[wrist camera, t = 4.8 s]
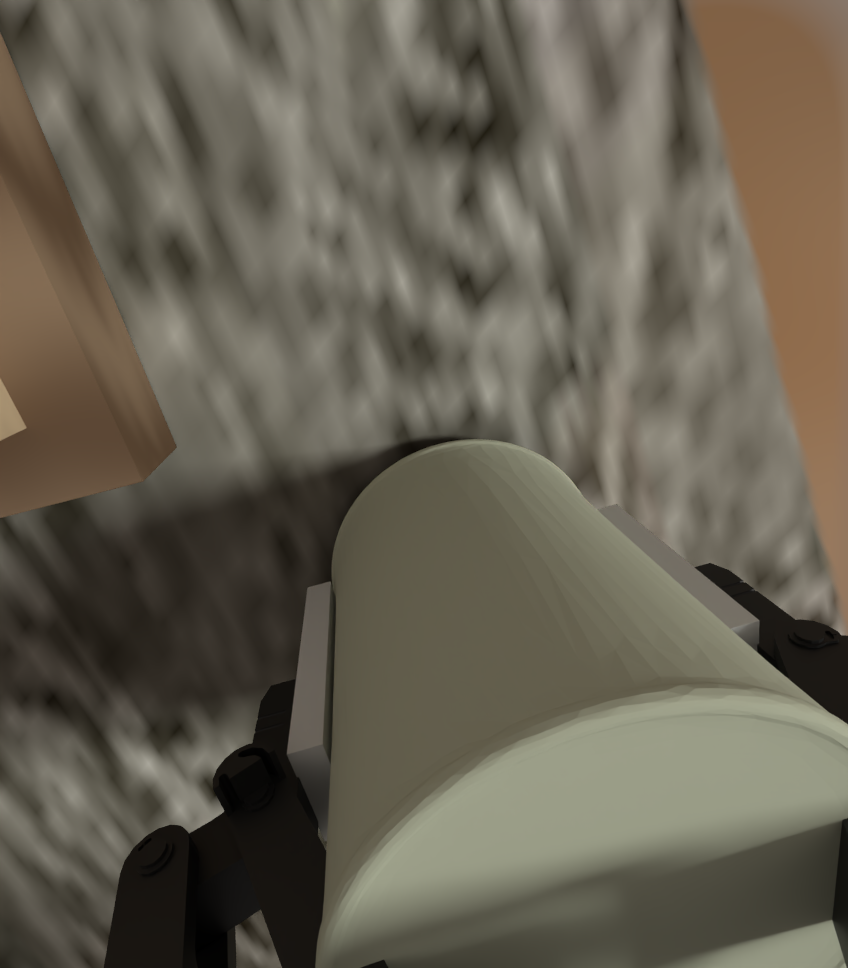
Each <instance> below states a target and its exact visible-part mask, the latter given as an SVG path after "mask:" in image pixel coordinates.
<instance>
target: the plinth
mask: <svg viewBox="0 0 848 968" xmlns="http://www.w3.org/2000/svg"><path fill="white" fill-rule="evenodd" d="M175 448H176V444H175V442H174V439H173V437H172V435H171V432H170V430H169V428H168V425H167V423H166V421H165V418H164V416H163V414H162V411H161V409H160V407H159V404H158V402H157V400H156V397H155V395H154V392H153V390H152V388H151V385H150V383H149V381H148V378H147V376H146V374H145V371H144V369H143V367H142V364H141V362H140V360H139V357H138V355H137V353H136V350H135V348H134V345H133V343H132V341H131V338H130V336H129V334H128V331H127V329H126V327H125V324H124V322H123V320H122V317H121V315H120V313H119V310H118V308H117V306H116V303H115V301H114V298H113V296H112V294H111V291H110V289H109V287H108V284H107V282H106V280H105V277H104V275H103V273H102V270H101V268H100V266H99V263H98V261H97V259H96V256H95V254H94V251H93V249H92V247H91V244H90V242H89V240H88V237H87V235H86V233H85V230H84V228H83V226H82V223H81V221H80V219H79V216H78V214H77V212H76V209H75V207H74V204H73V202H72V200H71V197H70V195H69V193H68V190H67V188H66V186H65V183H64V181H63V179H62V176H61V174H60V172H59V169H58V167H57V165H56V162H55V160H54V157H53V155H52V153H51V150H50V148H49V146H48V143H47V141H46V139H45V136H44V134H43V132H42V129H41V127H40V125H39V122H38V120H37V118H36V115H35V113H34V110H33V108H32V106H31V103H30V101H29V99H28V96H27V94H26V92H25V89H24V87H23V85H22V82H21V80H20V78H19V75H18V73H17V71H16V68H15V66H14V63H13V61H12V59H11V56H10V54H9V52H8V49H7V47H6V45H5V42H4V40H3V38H2V35H1V33H0V518H2V517H6V516H10V515H14V514H18V513H21V512H25V511H29V510H33V509H37V508H41V507H45V506H49V505H53V504H57V503H61V502H65V501H68V500H72V499H76V498H80V497H84V496H88V495H92V494H96V493H100V492H104V491H108V490H112V489H116V488H119V487H123V486H127V485H131V484H135V483H139V482H143V481H144V480H145V479H146V478H147V477H148V476H149V475H150V474H151V473H152V472H153V471H154V470H155V469H156V468H157V467H158V466H159V465H160V464H161V463H162V462H163V461H164V460H165V459H166V458H167V457H168V456H169V455H170V454H171V453H172V452H173V451H174V450H175Z"/></svg>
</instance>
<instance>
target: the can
mask: <svg viewBox="0 0 848 968" xmlns="http://www.w3.org/2000/svg"><path fill="white" fill-rule="evenodd" d="M332 585H333V590H334V593H335V596H336V626H335V659H334V691H333V724H332V749H331V769H330V789H329V810H328V830H327V850H326V871H325V891H324V904H323V917H322V923H321V926H320V930H319V935H318V941H317V951H316V963H315V968H361V967H364V966H366V965H369V964H372V963H375V962H378V961H381V960H385V962H386V964H387V966H388V968H846V964H845V960H844V957H843V954H842V951H841V947H840V944H839V941H838V937H837V934H836V931H835V928H834V924H833V921H832V917H833V907H834V897H835V886H836V876H837V866H838V857H839V847H840V837H841V828H842V820H843V819H847V818H848V724H847V723H845V722H844V721H842V720H841V719H839V718H838V717H836V716H834V715H832V714H831V713H829V712H828V711H827V710H825V709H824V708H823V707H822V706H821V705H819V704H818V703H817V702H816V701H814V700H813V699H812V698H811V697H810V696H808V695H807V694H806V693H805V692H804V691H802V690H801V689H800V688H799V687H798V686H796V685H795V684H794V683H793V682H792V681H790V680H789V679H788V678H787V677H785V676H784V675H783V674H782V673H781V672H779V671H778V670H777V669H776V668H775V667H773V666H772V665H771V664H770V663H769V662H768V661H766V660H765V659H764V658H763V657H762V656H761V655H760V654H758V653H757V652H756V651H755V650H754V649H753V648H752V647H751V646H749V645H748V644H747V643H746V642H745V641H744V640H743V639H741V638H740V637H739V636H738V635H737V634H736V633H735V632H733V631H732V630H731V629H730V628H729V627H728V626H727V625H725V624H724V623H723V622H722V621H721V620H720V619H719V618H717V617H716V616H715V615H714V614H713V613H712V612H711V611H709V610H708V609H707V608H706V607H705V606H704V605H703V604H701V603H700V602H699V601H698V600H697V599H696V598H695V597H693V596H692V595H691V594H690V593H689V592H688V591H687V590H685V589H684V588H683V587H682V586H681V585H680V584H679V583H678V582H677V581H675V580H674V579H673V578H672V577H671V576H670V575H669V574H668V573H666V572H665V571H664V570H663V569H662V568H661V567H660V566H659V565H658V564H656V563H655V562H654V561H653V560H652V559H651V558H650V557H649V556H648V555H646V554H645V553H644V552H643V551H642V550H641V549H640V548H639V547H637V546H636V545H635V544H634V543H633V542H632V541H631V540H630V539H629V538H627V537H626V536H625V535H624V534H623V533H622V532H621V531H620V530H618V529H617V528H616V527H615V526H614V525H613V524H612V523H611V522H610V521H609V520H608V519H607V518H605V517H604V516H603V515H602V514H601V513H600V512H599V511H598V510H597V509H596V508H595V507H593V506H592V505H591V504H590V503H589V502H588V501H587V500H586V499H585V498H584V497H583V496H582V494H581V493H580V491H579V490H578V488H577V487H576V486H575V484H574V483H573V482H572V481H571V479H570V478H569V477H568V476H567V475H566V474H565V473H564V472H563V471H562V470H561V469H560V468H558V467H557V466H556V465H555V464H553V463H552V462H551V461H549V460H548V459H546V458H544V457H543V456H541V455H539V454H537V453H535V452H533V451H531V450H529V449H526V448H524V447H521V446H518V445H514V444H511V443H507V442H501V441H496V440H485V439H467V440H457V441H450V442H445V443H441V444H437V445H433V446H430V447H427V448H424V449H422V450H419V451H417V452H415V453H413V454H411V455H408V456H406V457H405V458H403V459H401V460H399V461H397V462H396V463H395V464H393V465H392V466H390V467H389V468H387V469H386V470H384V471H383V472H382V473H381V474H380V475H378V476H377V477H376V478H375V479H374V480H373V481H372V482H371V483H370V484H369V485H368V486H367V487H366V488H365V489H364V490H363V491H362V492H361V494H360V495H359V496H358V498H357V499H356V500H355V502H354V503H353V505H352V506H351V507H350V509H349V511H348V513H347V514H346V516H345V518H344V520H343V522H342V525H341V527H340V529H339V532H338V535H337V538H336V542H335V546H334V551H333V557H332Z"/></svg>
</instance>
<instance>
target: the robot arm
mask: <svg viewBox="0 0 848 968" xmlns="http://www.w3.org/2000/svg"><path fill="white" fill-rule="evenodd" d="M597 510H598V511H599V512H600V513H601V514H602V515H603V516H604V517H605V518H607V519H608V520H609V521H610V522H611V523H612V524H613V525H614V526H615V527H616V528H617V529H618V530H620V531H621V532H622V533H623V534H624V535H625V536H626V537H627V538H629V539H630V540H631V541H632V542H633V543H634V544H635V545H636V546H637V547H639V548H640V549H641V550H642V551H643V552H644V553H645V554H646V555H648V556H649V557H650V558H651V559H652V560H653V561H654V562H655V563H656V564H658V565H659V566H660V567H661V568H662V569H663V570H664V571H665V572H666V573H668V574H669V575H670V576H671V577H672V578H673V579H674V580H675V581H677V582H678V583H679V584H680V585H681V586H682V587H683V588H684V589H685V590H687V591H688V592H689V593H690V594H691V595H692V596H693V597H695V598H696V599H697V600H698V601H699V602H700V603H701V604H703V605H704V606H705V607H706V608H707V609H708V610H709V611H711V612H712V613H713V614H714V615H715V616H716V617H717V618H719V619H720V620H721V621H722V622H723V623H724V624H725V625H727V626H728V627H729V628H730V629H731V630H732V631H733V632H735V633H736V634H737V635H738V636H739V637H740V638H741V639H743V640H744V641H745V642H746V643H747V644H748V645H749V646H751V647H752V648H753V649H754V650H755V651H756V652H757V653H758V654H760V655H761V656H762V657H763V658H764V659H765V660H766V661H768V662H769V663H770V664H771V665H772V666H773V667H775V668H776V669H777V670H778V671H779V672H781V673H782V674H783V675H784V676H785V677H787V678H788V679H789V680H790V681H792V682H793V683H794V684H795V685H796V686H798V687H799V688H800V689H801V690H802V691H804V692H805V693H806V694H807V695H808V696H810V697H811V698H812V699H813V700H814V701H816V702H817V703H818V704H819V705H821V706H822V707H823V708H824V709H825V710H827V711H828V712H829V713H831V714H832V715H834V716H836V717H838V718H839V719H841V720H842V721H844V722H845V723H847V724H848V636H841V635H840V633H839V632H838V631H836V630H834V629H832V628H831V627H829V626H827V625H824V624H821V623H818V622H815V621H809V620H795V619H794V618H792V617H791V616H790V615H788V614H787V613H786V612H784V611H783V610H782V609H780V608H779V607H778V606H776V605H775V604H774V603H772V602H771V601H770V600H768V599H767V598H766V597H764V596H763V595H762V594H760V593H759V592H758V591H756V592H755V590H754V588H752V587H751V586H750V585H748V584H747V583H744V582H743V580H741V579H740V578H739V577H737V576H736V575H735V574H733V573H732V572H731V571H729V570H727V569H724V568H722V567H719V566H717V565H714V564H711V563H709V564H705V565H701V566H698V567H693V566H692V565H691V564H689V563H688V562H687V561H686V560H685V559H683V558H682V557H681V556H680V555H678V554H677V553H676V552H675V551H674V550H672V549H671V548H670V547H669V546H667V545H666V544H665V543H664V542H662V541H661V540H660V539H659V538H658V537H656V536H655V535H654V534H653V533H651V532H650V531H649V530H648V529H647V528H645V527H644V526H643V525H642V524H640V523H639V522H638V521H637V520H635V519H634V518H633V517H632V516H631V515H629V514H628V513H627V512H626V511H624V510H623V509H622V508H621V507H620V506H618V505H617V504H616V505H612V506H608V507H605V508H601V509H597ZM335 626H336V596H335V593H334V590H333V587H332V584H331V581H330V582H326V583H322V584H319V585H315V586H311V587H308V588H307V596H306V604H305V612H304V620H303V628H302V636H301V644H300V652H299V660H298V668H297V676H296V679H294V680H291V681H287V682H283V683H280V684H276V685H273V686H271V687H270V688H269V690H268V692H267V693H266V695H265V696H264V698H263V699H262V701H261V704H260V709H259V714H258V720H257V724H256V729H255V732H256V733H255V734H254V739H253V743H252V744H248V745H245V746H243V747H241V748H239V749H237V750H235V751H234V752H233V753H232V754H230V755H229V756H228V757H227V758H225V760H224V761H223V762H222V763H221V765H220V766H219V767H218V768H217V771H216V773H215V776H214V778H213V790H214V792H215V794H216V796H217V798H218V799H219V801H220V803H221V805H222V807H223V809H224V812H223V813H222V814H221V815H219V816H218V817H216V818H215V819H213V820H212V821H210V822H208V823H207V824H205V825H203V826H202V827H200V828H198V829H196V830H195V831H193V832H191V833H190V834H189V833H188V832H187V831H186V830H185V829H184V828H183V827H182V826H179V825H168V826H165V827H162V828H159V829H157V830H155V831H154V832H152V833H151V834H149V835H147V836H146V837H145V838H144V839H143V840H142V841H140V842H139V843H138V844H137V845H136V846H135V847H134V848H133V850H132V851H131V853H130V854H129V856H128V857H127V859H126V860H125V862H124V865H123V868H122V870H121V873H120V878H119V884H118V890H117V895H116V901H115V907H114V913H113V918H112V924H111V930H110V935H109V941H108V947H107V953H106V958H105V964H104V968H236V940H235V926H236V925H238V924H239V923H241V922H242V921H244V920H245V919H247V918H248V917H250V916H251V915H253V914H254V913H256V912H257V911H259V910H260V909H261V910H262V913H263V916H264V919H265V921H266V924H267V927H268V930H269V932H270V935H271V938H272V941H273V944H274V946H275V949H276V952H277V955H278V957H279V960H280V963H281V966H282V968H315V963H316V951H317V941H318V935H319V930H320V926H321V923H322V917H323V904H324V891H325V871H326V850H325V848H324V846H323V844H322V843H321V841H320V839H319V837H318V827H319V829H320V831H321V834H322V836H323V838H324V841H327V830H328V810H329V789H330V769H331V749H332V724H333V691H334V659H335ZM832 921H833V924H834V928H835V931H836V934H837V937H838V941H839V944H840V947H841V951H842V954H843V957H844V960H845V964H846V967H847V968H848V818H847V819H843V820H842V828H841V837H840V847H839V857H838V866H837V876H836V886H835V897H834V907H833V917H832ZM361 968H388V966H387V964H386V962H385V960H381V961H378V962H375V963H372V964H369V965H366V966H364V967H361Z"/></svg>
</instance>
